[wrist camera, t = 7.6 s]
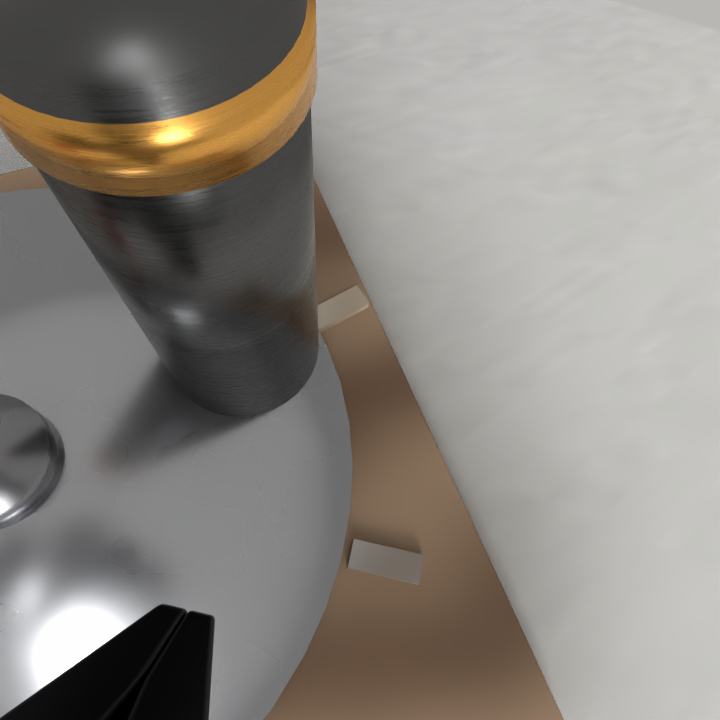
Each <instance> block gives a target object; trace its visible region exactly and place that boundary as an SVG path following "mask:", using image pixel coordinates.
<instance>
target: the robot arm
mask: <svg viewBox="0 0 720 720" xmlns="http://www.w3.org/2000/svg"><path fill="white" fill-rule="evenodd" d="M214 629H215V618H214V616H213V615H210V614H205V613H201V612H197V611H189V612H188V613H187V611H186V609H184V608H180V607H176V606H172V605H168V604H160V605H158V606H156V607H155V608H153V609H152V610H151V611H149V612H148V613H146V614H145V615H144V616H142V617H141V618H139V619H138V620H137V621H135V622H134V623H132V624H131V625H130V626H128V627H127V628H125V629H124V630H123V631H121V632H120V633H118V634H117V635H116V636H114V637H113V638H111V639H110V640H109V641H107V642H106V643H104V644H103V645H102V646H100V647H99V648H97V649H96V650H94V651H93V652H92V653H90V654H89V655H87V656H86V657H85V658H83V659H82V660H80V661H79V662H78V663H76V664H75V665H73V666H72V667H71V668H69V669H68V670H66V671H65V672H64V673H62V674H61V675H59V676H58V677H57V678H55V679H54V680H52V681H51V682H50V683H48V684H47V685H45V686H44V687H43V688H41V689H40V690H38V691H37V692H36V693H34V694H33V695H31V696H30V697H29V698H27V699H26V700H24V701H23V702H22V703H20V704H19V705H17V706H16V707H15V708H13V709H12V710H10V711H9V712H8V713H6V714H5V715H3V716H2V717H0V720H209V706H210V691H211V675H212V660H213V644H214Z"/></svg>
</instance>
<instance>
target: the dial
mask: <svg viewBox="0 0 720 720" xmlns="http://www.w3.org/2000/svg"><path fill="white" fill-rule="evenodd" d="M316 82H317V46H316V2H315V0H0V128H1V130H2V131H3V133H4V134H5V136H6V137H7V139H8V140H9V142H10V143H11V144H12V145H13V146H14V147H15V149H16V150H17V151H18V152H19V153H20V154H21V155H22V156H23V157H24V158H26V159H27V160H28V161H29V162H30V163H32V164H33V165H34V166H35V167H36V168H37V169H38V171H39V172H40V174H41V176H42V177H43V179H44V180H45V182H46V183H47V185H48V186H49V188H44V189H24V190H17V191H9V192H1V193H0V717H2V716H3V715H5V714H6V713H8V712H9V711H10V710H12V709H13V708H15V707H16V706H17V705H19V704H20V703H22V702H23V701H24V700H26V699H27V698H29V697H30V696H31V695H33V694H34V693H36V692H37V691H38V690H40V689H41V688H43V687H44V686H45V685H47V684H48V683H50V682H51V681H52V680H54V679H55V678H57V677H58V676H59V675H61V674H62V673H64V672H65V671H66V670H68V669H69V668H71V667H72V666H73V665H75V664H76V663H78V662H79V661H80V660H82V659H83V658H85V657H86V656H87V655H89V654H90V653H92V652H93V651H94V650H96V649H97V648H99V647H100V646H102V645H103V644H104V643H106V642H107V641H109V640H110V639H111V638H113V637H114V636H116V635H117V634H118V633H120V632H121V631H123V630H124V629H125V628H127V627H128V626H130V625H131V624H132V623H134V622H135V621H137V620H138V619H139V618H141V617H142V616H144V615H145V614H146V613H148V612H149V611H151V610H152V609H153V608H155V607H156V606H158V605H160V604H168V605H172V606H176V607H180V608H184V609H186V611H187V613H188V612H189V611H197V612H201V613H205V614H210V615H213V616H214V618H215V629H214V644H213V660H212V675H211V691H210V706H209V720H263V719H264V718H265V717H266V716H267V714H268V713H269V712H270V711H271V709H272V708H273V706H274V705H275V703H276V701H277V700H278V698H279V696H280V695H281V693H282V691H283V690H284V688H285V687H286V685H287V683H288V682H289V680H290V678H291V677H292V675H293V673H294V672H295V670H296V668H297V667H298V665H299V663H300V662H301V660H302V658H303V657H304V655H305V653H306V651H307V649H308V647H309V644H310V642H311V640H312V638H313V636H314V633H315V631H316V629H317V627H318V625H319V622H320V620H321V618H322V616H323V614H324V611H325V609H326V606H327V603H328V600H329V597H330V594H331V591H332V587H333V584H334V581H335V578H336V575H337V571H338V568H339V565H340V562H341V558H342V552H343V547H344V541H345V536H346V530H347V525H348V519H349V514H350V504H351V485H352V466H353V463H352V451H351V439H350V426H349V419H348V414H347V410H346V405H345V401H344V396H343V391H342V387H341V382H340V380H339V377H338V374H337V372H336V369H335V366H334V363H333V361H332V358H331V355H330V353H329V350H328V347H327V345H326V343H325V341H324V340H323V338H322V336H321V334H320V332H319V330H318V307H317V278H316V248H315V218H314V188H313V159H312V129H311V105H312V101H313V98H314V95H315V91H316Z"/></svg>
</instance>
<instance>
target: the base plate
mask: <svg viewBox="0 0 720 720" xmlns="http://www.w3.org/2000/svg"><path fill="white" fill-rule="evenodd" d="M44 188H49V186H48V185H47V183H46V182H45V180H44V179H43V177H42V176H41V174H40V172H39V171H38V169H37V168H36V167H35V166H34V167H29V168H25V169H21V170H17V171H13V172H9V173H5V174H1V175H0V193H1V192H9V191H17V190H24V189H44ZM313 188H314V218H315V248H316V278H317V307H318V330H319V332H320V334H321V336H322V338H323V340H324V341H325V343H326V345H327V347H328V350H329V353H330V355H331V358H332V361H333V363H334V366H335V369H336V372H337V374H338V377H339V380H340V382H341V387H342V391H343V396H344V401H345V405H346V410H347V414H348V419H349V426H350V439H351V451H352V463H353V466H352V485H351V504H350V514H349V519H348V525H347V530H346V536H345V541H344V547H343V552H342V558H341V562H340V565H339V568H338V571H337V575H336V578H335V581H334V584H333V587H332V591H331V594H330V597H329V600H328V603H327V606H326V609H325V611H324V614H323V616H322V618H321V620H320V622H319V625H318V627H317V629H316V631H315V633H314V636H313V638H312V640H311V642H310V644H309V647H308V649H307V651H306V653H305V655H304V657H303V658H302V660H301V662H300V663H299V665H298V667H297V668H296V670H295V672H294V673H293V675H292V677H291V678H290V680H289V682H288V683H287V685H286V687H285V688H284V690H283V691H282V693H281V695H280V696H279V698H278V700H277V701H276V703H275V705H274V706H273V708H272V709H271V711H270V712H269V713H268V714H267V716H266V717H265V718H264V719H263V720H564V719H563V717H562V715H561V713H560V711H559V709H558V706H557V704H556V702H555V700H554V698H553V696H552V693H551V691H550V689H549V687H548V685H547V683H546V680H545V678H544V676H543V674H542V672H541V670H540V667H539V665H538V663H537V661H536V659H535V657H534V654H533V652H532V650H531V648H530V646H529V644H528V641H527V639H526V637H525V635H524V633H523V631H522V628H521V626H520V624H519V622H518V620H517V618H516V615H515V613H514V611H513V609H512V607H511V605H510V602H509V600H508V598H507V596H506V594H505V592H504V589H503V587H502V585H501V583H500V581H499V579H498V576H497V574H496V572H495V570H494V568H493V566H492V563H491V561H490V559H489V557H488V555H487V553H486V551H485V548H484V546H483V544H482V542H481V540H480V538H479V535H478V533H477V531H476V529H475V527H474V525H473V522H472V520H471V518H470V516H469V514H468V512H467V509H466V507H465V505H464V503H463V501H462V499H461V496H460V494H459V492H458V490H457V488H456V486H455V483H454V481H453V479H452V477H451V475H450V473H449V470H448V468H447V466H446V464H445V462H444V460H443V457H442V455H441V453H440V451H439V449H438V447H437V444H436V442H435V440H434V438H433V436H432V434H431V431H430V429H429V427H428V425H427V423H426V421H425V418H424V416H423V414H422V412H421V410H420V408H419V405H418V403H417V401H416V399H415V397H414V395H413V392H412V390H411V388H410V386H409V384H408V382H407V379H406V377H405V375H404V373H403V371H402V369H401V366H400V364H399V362H398V360H397V358H396V356H395V353H394V351H393V349H392V347H391V345H390V343H389V340H388V338H387V336H386V334H385V332H384V330H383V327H382V325H381V323H380V321H379V319H378V317H377V314H376V312H375V310H374V308H373V306H372V304H371V301H370V299H369V297H368V295H367V293H366V291H365V288H364V286H363V284H362V282H361V280H360V278H359V275H358V273H357V271H356V269H355V267H354V265H353V263H352V260H351V258H350V256H349V254H348V252H347V250H346V247H345V245H344V243H343V241H342V239H341V237H340V234H339V232H338V230H337V228H336V226H335V224H334V221H333V219H332V217H331V215H330V213H329V211H328V208H327V206H326V204H325V202H324V200H323V198H322V195H321V193H320V191H319V189H318V187H317V185H316V182H315V180H314V178H313Z"/></svg>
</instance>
